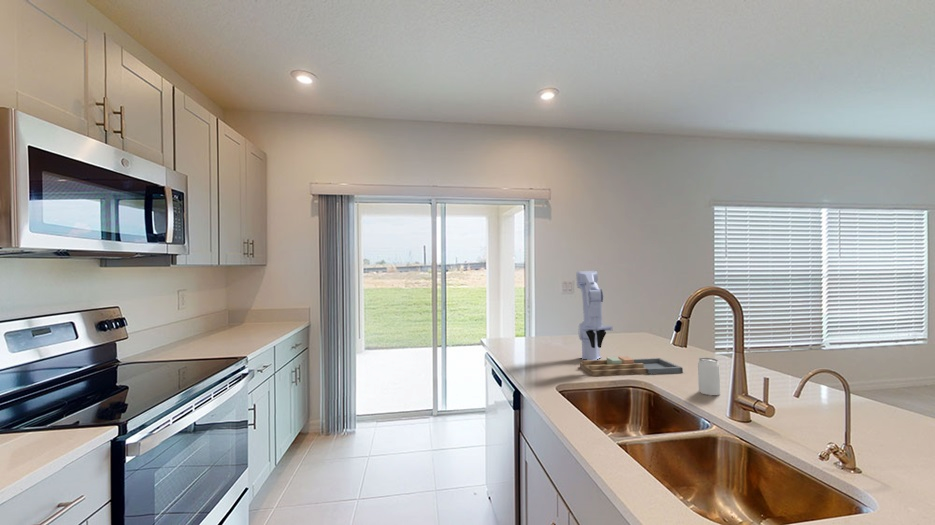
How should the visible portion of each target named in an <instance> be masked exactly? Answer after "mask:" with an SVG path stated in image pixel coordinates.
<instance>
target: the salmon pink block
mask: <svg viewBox="0 0 935 525" xmlns="http://www.w3.org/2000/svg"><path fill="white" fill-rule="evenodd" d="M617 358H618V359H620V360H622V364H634V360H633V359H634V358H631V357H629V356H617Z"/></svg>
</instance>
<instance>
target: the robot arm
mask: <svg viewBox="0 0 935 525" xmlns="http://www.w3.org/2000/svg"><path fill="white" fill-rule="evenodd" d="M575 279H576V286H577V288H578V289H580V292H581V295H582V296H581V297H582V311H583V313H582V315H583V321H582V322H581V323H579V325H578V340H580V341H581V357H582V359H581V360H583V359H587V360H597V359H598V360H600V359H601V358H602V355H601V354H600V351H601V350H600V349H601V348H602V345H603V341H604V338H605V336H606V334H607V332H606V331H610V332H612V331H613V326H612V325H603V304H602V303H603V302H604V292H603V289H602V288H601V289H600V287H599V284H598V280H599V279H598V271H596V270H583V271H580V270H577V271H576V278H575ZM599 358H600V359H599ZM587 360H586V361H587Z"/></svg>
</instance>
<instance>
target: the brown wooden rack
mask: <svg viewBox="0 0 935 525" xmlns="http://www.w3.org/2000/svg"><path fill="white" fill-rule="evenodd" d="M632 359H633V360H634V359H635V358H632ZM580 367H581V369H582V368H583V369H584V370H583V369H582V370H583V371H585V372H586V373H587V372H588V373H587V374H588V375H590V376H592V377H602V376H603V377H604V376H605V377H606V376H621V375H623V376H624V375H642V374H643V375H645V374H646V375H648V374H647V369H646V368H644V364H643V363H634V364H613V365H608V364H607V359H598V360H581V362H579V368H580Z"/></svg>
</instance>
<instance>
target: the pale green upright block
mask: <svg viewBox="0 0 935 525" xmlns="http://www.w3.org/2000/svg"><path fill="white" fill-rule="evenodd" d="M606 360H607V364H608V365H613V364H622V360H620V359H618V357H616V356H610V357H609V356H607V357H606Z"/></svg>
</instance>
